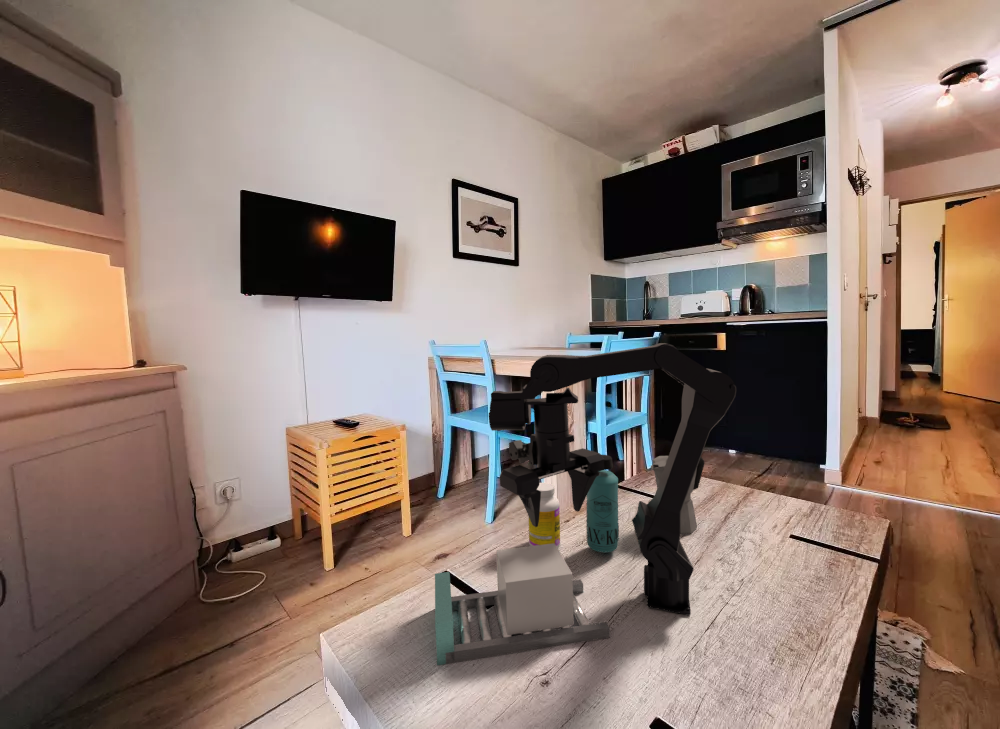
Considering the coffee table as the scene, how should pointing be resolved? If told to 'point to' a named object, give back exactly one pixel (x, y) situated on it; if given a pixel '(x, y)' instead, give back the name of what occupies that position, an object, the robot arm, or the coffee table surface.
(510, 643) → the roller bed
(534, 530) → the supplement bottle
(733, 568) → the coffee table surface
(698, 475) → the coffeepot
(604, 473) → the beverage bottle
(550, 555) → the off-white matte cube
